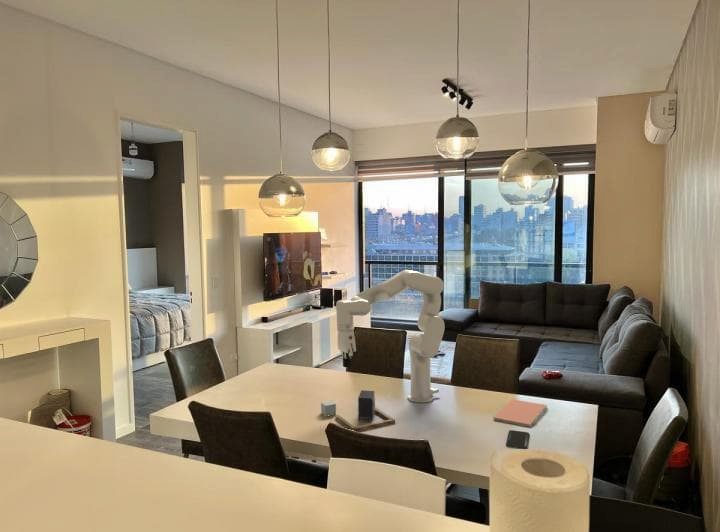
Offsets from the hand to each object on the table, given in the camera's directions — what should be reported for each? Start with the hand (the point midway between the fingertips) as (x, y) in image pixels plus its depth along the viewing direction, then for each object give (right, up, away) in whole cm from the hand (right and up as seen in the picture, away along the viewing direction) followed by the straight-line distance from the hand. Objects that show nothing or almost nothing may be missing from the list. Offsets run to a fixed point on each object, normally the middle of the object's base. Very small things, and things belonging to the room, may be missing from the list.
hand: (346, 366), depth 238 cm
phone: (+67, -22, -37) cm, 80 cm away
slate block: (-8, -20, -5) cm, 23 cm away
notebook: (+77, -20, -9) cm, 81 cm away
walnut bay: (+8, -21, -14) cm, 26 cm away
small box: (+9, -21, -10) cm, 25 cm away
